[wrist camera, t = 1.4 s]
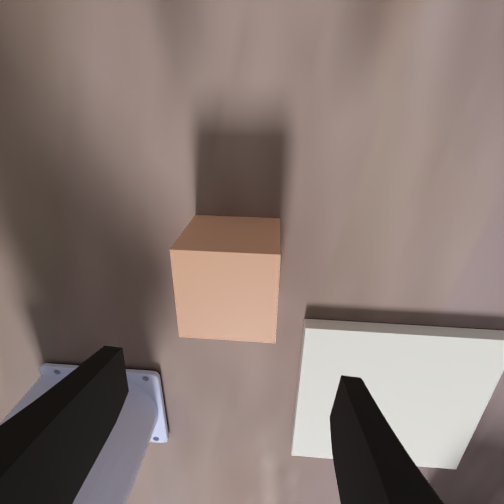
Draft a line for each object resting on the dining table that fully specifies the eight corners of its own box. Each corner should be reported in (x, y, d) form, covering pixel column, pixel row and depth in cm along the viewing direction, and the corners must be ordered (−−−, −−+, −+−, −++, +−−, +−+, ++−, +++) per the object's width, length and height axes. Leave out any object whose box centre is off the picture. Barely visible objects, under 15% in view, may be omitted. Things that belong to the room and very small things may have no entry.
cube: (200, 286, 21) (178, 336, 16) (195, 214, 19) (169, 249, 14) (276, 290, 21) (275, 343, 16) (280, 217, 18) (280, 254, 14)
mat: (291, 443, 27) (291, 455, 26) (304, 318, 21) (305, 328, 20) (449, 456, 26) (456, 469, 25) (507, 330, 20) (517, 341, 19)
